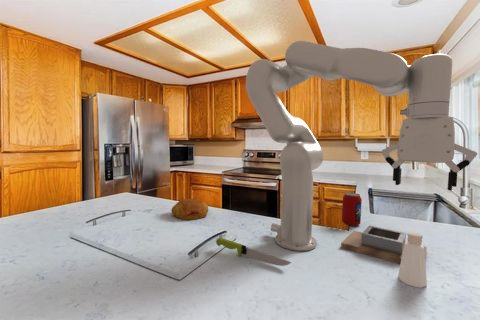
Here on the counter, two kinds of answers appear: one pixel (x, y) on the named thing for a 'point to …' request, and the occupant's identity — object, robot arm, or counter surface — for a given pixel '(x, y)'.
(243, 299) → the counter surface
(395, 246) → the metal socket
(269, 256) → the kitchen knife
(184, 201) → the round bread loaf
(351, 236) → the walnut board
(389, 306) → the counter surface
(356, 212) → the beverage can
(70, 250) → the counter surface
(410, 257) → the salt shaker
